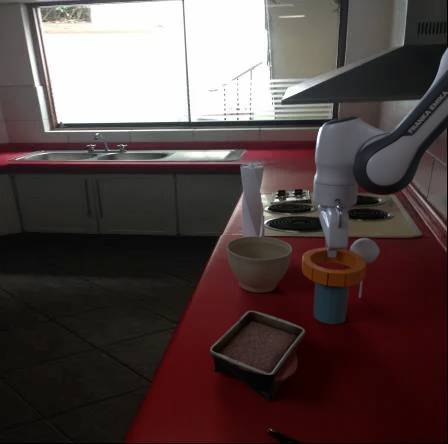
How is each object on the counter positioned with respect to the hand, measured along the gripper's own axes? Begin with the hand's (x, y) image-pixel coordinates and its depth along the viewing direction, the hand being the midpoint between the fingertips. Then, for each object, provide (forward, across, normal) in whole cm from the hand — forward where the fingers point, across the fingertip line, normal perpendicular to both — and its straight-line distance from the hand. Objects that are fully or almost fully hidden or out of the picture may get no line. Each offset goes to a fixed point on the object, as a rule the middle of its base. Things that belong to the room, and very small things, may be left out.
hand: (330, 253), depth 94 cm
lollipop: (+13, +5, -8) cm, 16 cm away
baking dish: (+13, -27, +15) cm, 34 cm away
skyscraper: (+13, +39, +19) cm, 45 cm away
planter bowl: (+13, +8, +16) cm, 22 cm away
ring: (+2, -5, 0) cm, 6 cm away
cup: (+13, -5, 0) cm, 14 cm away
